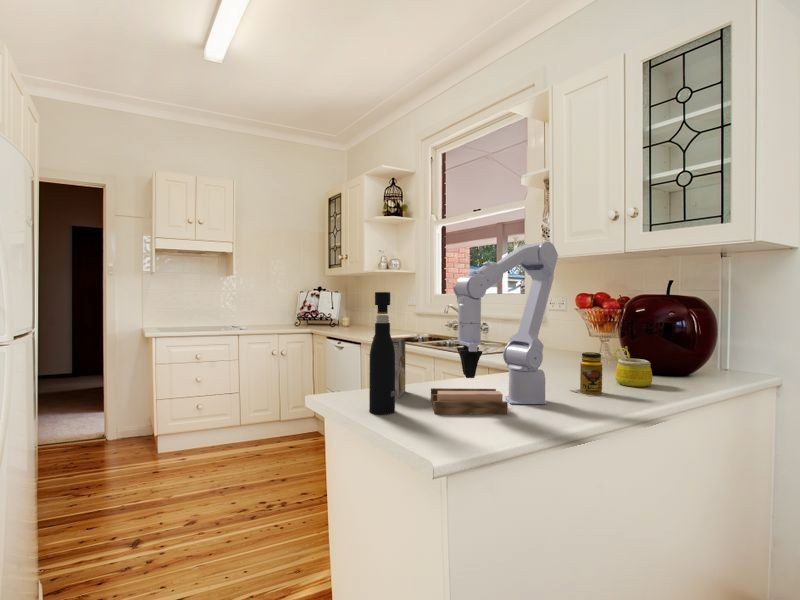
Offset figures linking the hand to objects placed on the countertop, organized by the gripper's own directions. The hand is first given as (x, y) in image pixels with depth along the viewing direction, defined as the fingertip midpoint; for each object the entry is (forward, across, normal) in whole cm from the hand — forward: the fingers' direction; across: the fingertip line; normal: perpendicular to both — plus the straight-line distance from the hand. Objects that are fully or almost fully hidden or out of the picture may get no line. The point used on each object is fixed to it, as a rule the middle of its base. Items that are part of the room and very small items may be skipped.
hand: (468, 376), depth 123 cm
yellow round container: (+9, -35, +58) cm, 68 cm away
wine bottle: (+9, +2, -22) cm, 24 cm away
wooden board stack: (+9, -4, 0) cm, 9 cm away
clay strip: (+7, 0, 0) cm, 7 cm away
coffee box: (+9, -18, -20) cm, 28 cm away
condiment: (+9, -22, +39) cm, 46 cm away
